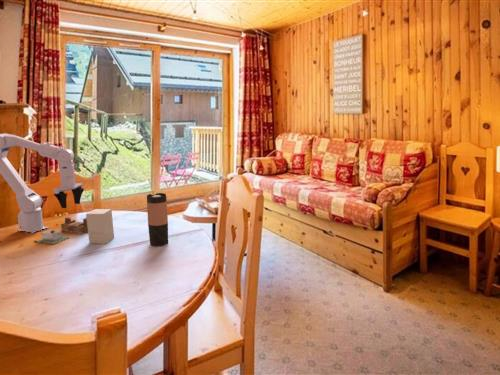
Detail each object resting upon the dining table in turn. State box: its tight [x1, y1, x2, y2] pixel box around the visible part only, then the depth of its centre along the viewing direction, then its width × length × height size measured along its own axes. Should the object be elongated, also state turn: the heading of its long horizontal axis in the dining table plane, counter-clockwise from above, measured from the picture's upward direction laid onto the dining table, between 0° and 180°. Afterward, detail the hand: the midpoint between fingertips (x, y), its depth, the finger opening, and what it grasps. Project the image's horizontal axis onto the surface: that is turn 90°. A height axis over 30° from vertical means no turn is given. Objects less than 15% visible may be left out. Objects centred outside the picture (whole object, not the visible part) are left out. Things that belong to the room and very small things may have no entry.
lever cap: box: [40, 228, 63, 242], centre depth 142 cm, size 6×4×4 cm
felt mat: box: [36, 235, 70, 245], centre depth 142 cm, size 10×8×1 cm
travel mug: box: [146, 192, 169, 247], centre depth 137 cm, size 8×8×20 cm
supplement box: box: [85, 208, 115, 245], centre depth 141 cm, size 7×7×13 cm
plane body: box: [60, 217, 88, 234], centre depth 154 cm, size 13×5×6 cm, turn 72°
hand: (70, 205), depth 155 cm, fingers open, 7 cm apart
